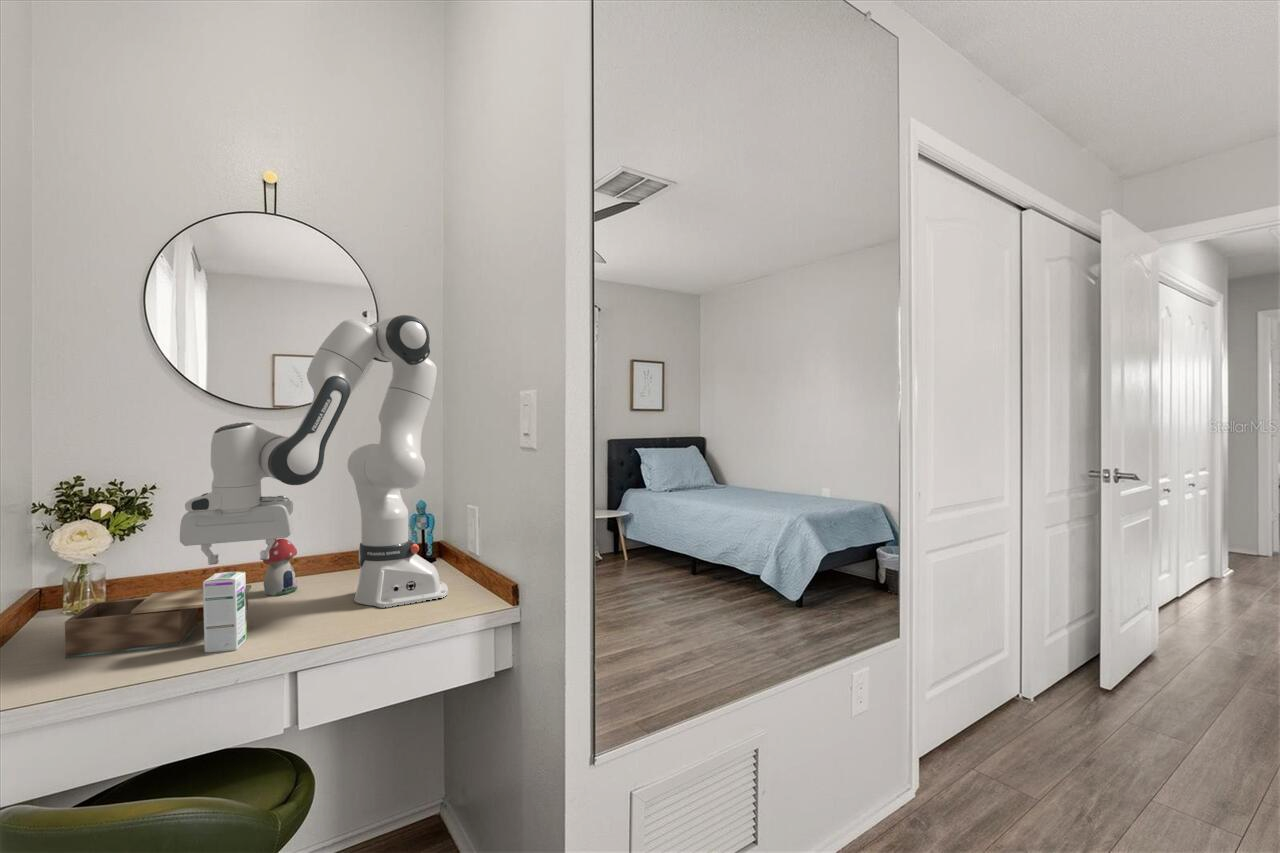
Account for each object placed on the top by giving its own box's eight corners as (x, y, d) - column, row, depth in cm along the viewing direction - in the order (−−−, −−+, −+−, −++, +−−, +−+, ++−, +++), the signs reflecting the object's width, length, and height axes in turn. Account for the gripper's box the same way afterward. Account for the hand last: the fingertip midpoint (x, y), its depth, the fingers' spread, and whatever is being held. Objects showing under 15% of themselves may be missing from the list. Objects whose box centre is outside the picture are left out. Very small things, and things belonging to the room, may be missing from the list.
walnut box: (197, 624, 132) (197, 593, 132) (180, 644, 121) (180, 610, 121) (93, 635, 125) (93, 602, 125) (65, 658, 114) (64, 621, 114)
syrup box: (237, 650, 119) (237, 578, 118) (202, 653, 117) (202, 580, 117) (247, 639, 124) (247, 570, 124) (214, 642, 123) (214, 572, 122)
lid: (251, 587, 136) (251, 567, 136) (239, 603, 125) (239, 581, 124) (153, 595, 129) (152, 574, 129) (131, 613, 118) (130, 590, 117)
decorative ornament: (271, 599, 150) (271, 539, 149) (253, 595, 152) (253, 537, 152) (305, 589, 159) (304, 533, 158) (287, 586, 161) (287, 530, 161)
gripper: (294, 492, 136) (296, 553, 137) (185, 499, 128) (187, 562, 129) (290, 497, 130) (292, 559, 131) (175, 504, 122) (178, 570, 123)
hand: (239, 561), depth 130 cm, fingers open, 8 cm apart
